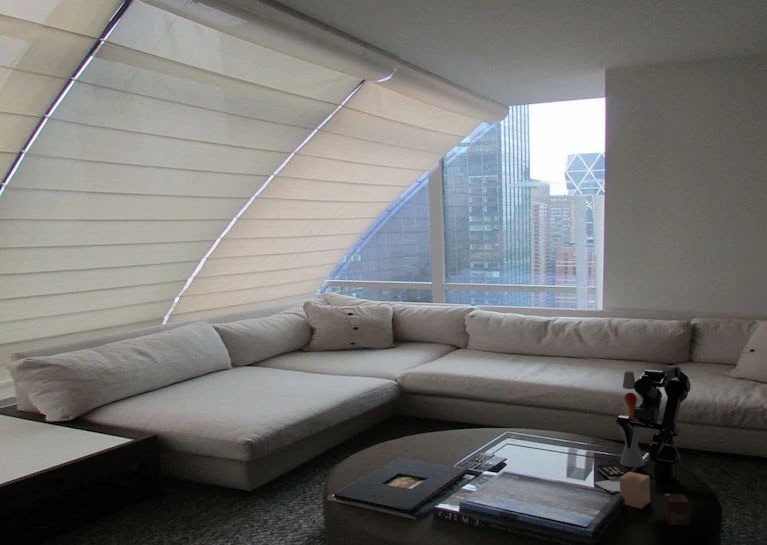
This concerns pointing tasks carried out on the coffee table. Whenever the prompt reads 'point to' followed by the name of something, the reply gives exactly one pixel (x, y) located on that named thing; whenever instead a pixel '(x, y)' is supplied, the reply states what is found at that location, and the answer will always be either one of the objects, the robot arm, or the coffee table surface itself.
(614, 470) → the remote control
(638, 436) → the lava lamp
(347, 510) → the coffee table surface
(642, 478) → the tan block
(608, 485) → the mat
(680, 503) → the box
